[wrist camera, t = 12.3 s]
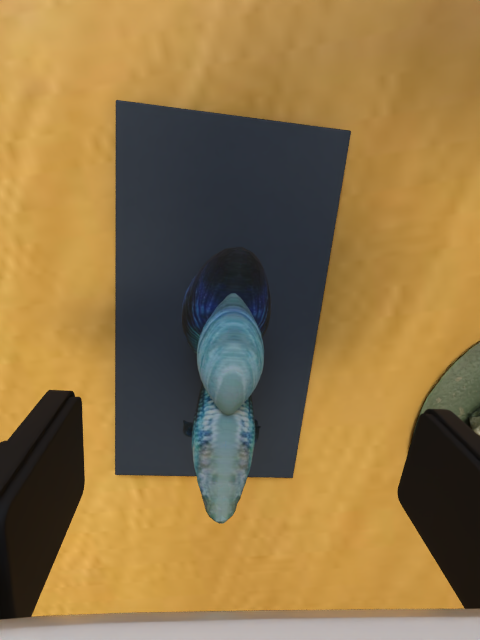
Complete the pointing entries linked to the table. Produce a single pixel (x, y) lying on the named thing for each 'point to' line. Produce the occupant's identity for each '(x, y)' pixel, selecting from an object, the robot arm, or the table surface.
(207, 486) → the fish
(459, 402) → the frog figurine
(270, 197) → the mat
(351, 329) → the table surface
